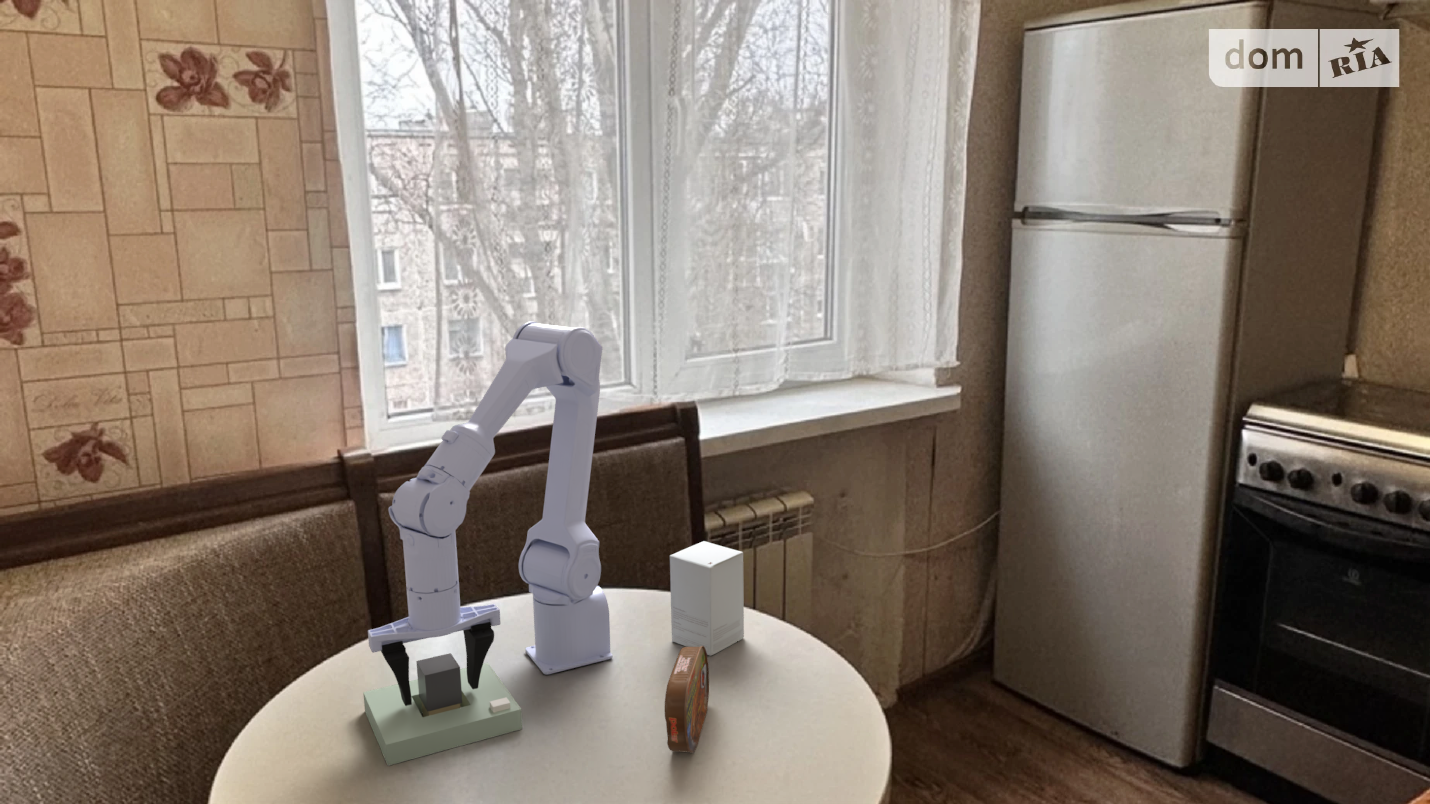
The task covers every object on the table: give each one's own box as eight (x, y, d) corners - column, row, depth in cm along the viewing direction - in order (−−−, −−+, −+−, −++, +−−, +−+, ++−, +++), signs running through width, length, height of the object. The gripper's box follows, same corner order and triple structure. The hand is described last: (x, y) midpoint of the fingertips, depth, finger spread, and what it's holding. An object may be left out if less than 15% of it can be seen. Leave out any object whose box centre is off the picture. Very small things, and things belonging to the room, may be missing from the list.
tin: (690, 768, 107) (689, 696, 105) (661, 766, 107) (660, 694, 106) (711, 698, 121) (711, 634, 120) (685, 696, 122) (685, 632, 120)
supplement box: (745, 638, 137) (745, 551, 134) (710, 657, 132) (709, 567, 129) (705, 623, 142) (704, 539, 139) (669, 641, 136) (668, 554, 134)
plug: (454, 707, 120) (450, 653, 118) (463, 722, 116) (460, 667, 115) (420, 715, 118) (416, 661, 116) (428, 731, 114) (424, 675, 113)
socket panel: (488, 680, 126) (487, 657, 125) (522, 728, 115) (520, 703, 114) (364, 711, 119) (362, 686, 118) (387, 765, 108) (385, 738, 107)
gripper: (485, 560, 120) (491, 664, 123) (359, 583, 113) (368, 693, 116) (503, 580, 114) (509, 689, 117) (371, 606, 107) (381, 721, 110)
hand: (440, 693), depth 116 cm, fingers open, 7 cm apart
